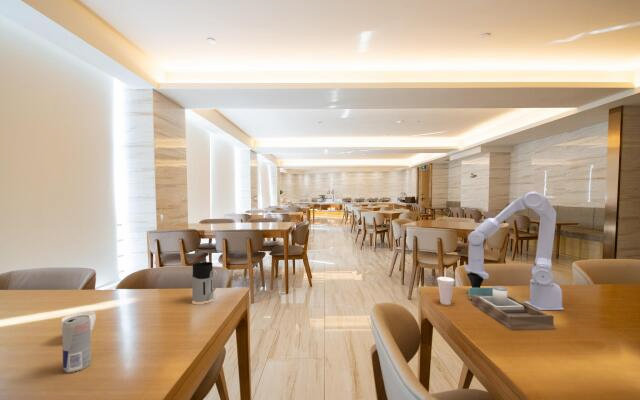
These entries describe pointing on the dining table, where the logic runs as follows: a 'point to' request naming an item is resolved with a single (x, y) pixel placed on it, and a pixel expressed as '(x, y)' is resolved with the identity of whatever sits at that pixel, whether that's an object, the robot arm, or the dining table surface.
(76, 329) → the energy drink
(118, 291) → the dining table surface
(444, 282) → the smoothie
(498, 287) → the disc stack
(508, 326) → the dock
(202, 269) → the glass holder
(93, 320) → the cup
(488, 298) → the tray
